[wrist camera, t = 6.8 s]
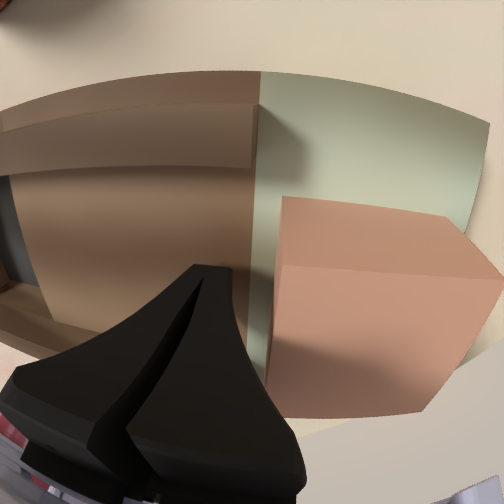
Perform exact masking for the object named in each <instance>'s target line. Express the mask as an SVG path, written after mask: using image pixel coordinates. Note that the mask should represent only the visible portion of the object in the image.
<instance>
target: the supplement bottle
mask: <svg viewBox="0 0 504 504" xmlns="http://www.w3.org/2000/svg"><path fill="white" fill-rule="evenodd" d="M9 1H10V0H0V10H1V9H2V8H3V7H4V6H5V5H6V4H7V3H8V2H9Z"/></svg>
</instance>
